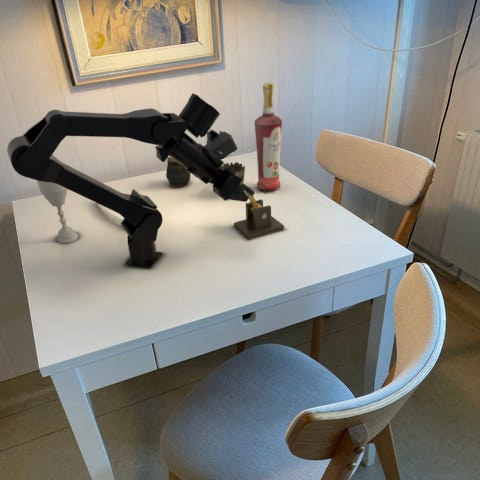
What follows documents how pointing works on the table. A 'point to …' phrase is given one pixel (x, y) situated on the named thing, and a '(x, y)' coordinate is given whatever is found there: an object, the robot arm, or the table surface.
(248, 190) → the lever
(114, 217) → the door handle
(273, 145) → the liquor
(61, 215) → the chalice
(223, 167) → the cup
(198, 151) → the robot arm
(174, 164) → the mate gourd
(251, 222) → the bracket
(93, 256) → the table surface
